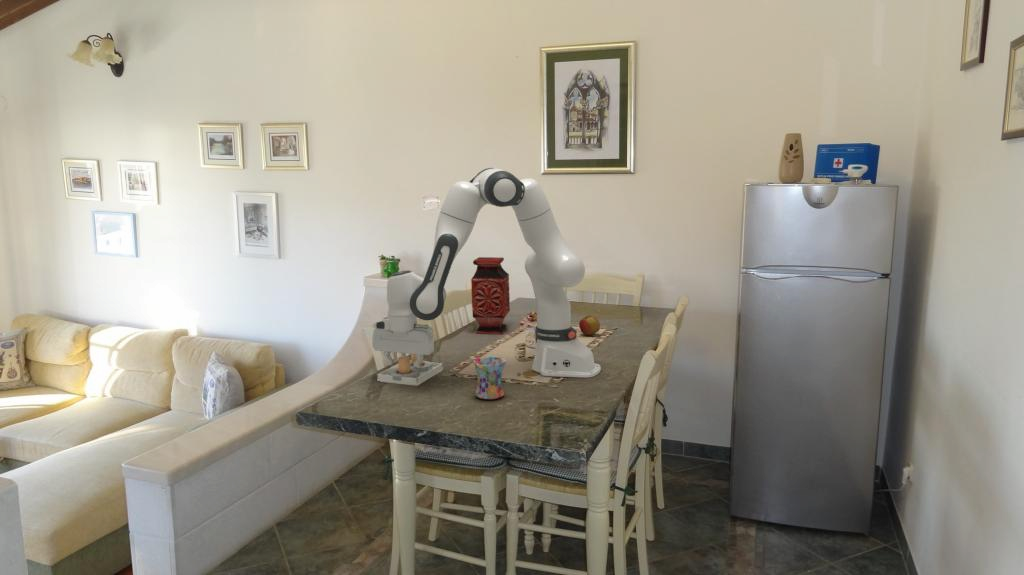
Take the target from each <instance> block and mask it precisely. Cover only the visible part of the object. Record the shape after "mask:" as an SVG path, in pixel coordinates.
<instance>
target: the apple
mask: <svg viewBox="0 0 1024 575" xmlns="http://www.w3.org/2000/svg"><path fill="white" fill-rule="evenodd" d="M578 327H579V329H580V332H582V334H583V335H585V336H586V337H587V336H588V337H590V336H592V335H594V334H596V333H598V332H599V331H600V329H601V324H600V321H599V320H598V319H597V318H596V317H595V316H593V315H587V316H585V317H583V318H582V319H581V320H580V321H579V324H578Z"/></svg>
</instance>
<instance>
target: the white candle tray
mask: <svg viewBox="0 0 1024 575" xmlns="http://www.w3.org/2000/svg"><path fill="white" fill-rule="evenodd" d="M410 356H411V357H410V364H411V373H409V374H399V372H398V363H397V364H394V365H392V366H391V367H389V368H387V369H385V370H383V371H381V372H379V373H377V374H376V379H377V380H376V381H377V382H378V381H380V382H381V383H387V384H388V383H389V384H397V385H398V384H399V385H408V386H417V387H418V386H420V385H421V384H423V383H424V382H426V381H427V380H429V379H430V378H432V377H435V376H436V375H438V374H439V373H441V372H442V371H444V363H442V362H441V363H440V362H433V361H432V362H431V361H428V360H424V357H423V358H422V360H421V361H420V367H419V368H414V362H415V361H417V359H418V358H417V357H416V354H411V355H410Z"/></svg>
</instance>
